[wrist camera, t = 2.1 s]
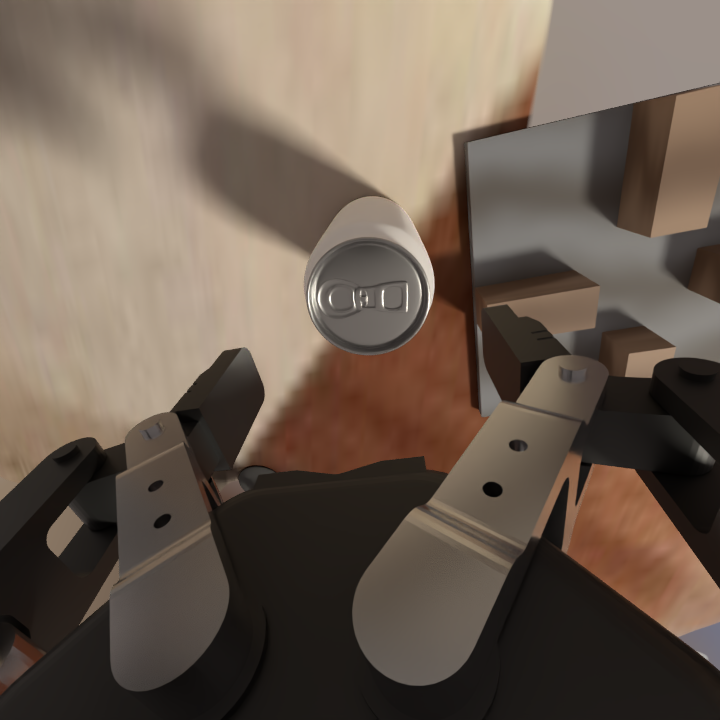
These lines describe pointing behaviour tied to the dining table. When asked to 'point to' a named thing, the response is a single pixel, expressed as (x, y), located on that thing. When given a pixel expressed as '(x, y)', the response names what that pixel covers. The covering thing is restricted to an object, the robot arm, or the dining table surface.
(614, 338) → the crossing block
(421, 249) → the can
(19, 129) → the dining table surface
